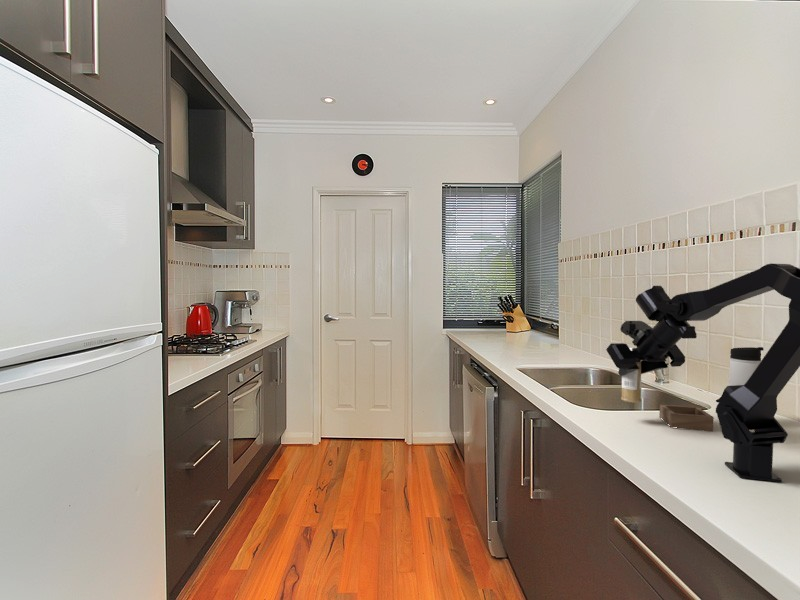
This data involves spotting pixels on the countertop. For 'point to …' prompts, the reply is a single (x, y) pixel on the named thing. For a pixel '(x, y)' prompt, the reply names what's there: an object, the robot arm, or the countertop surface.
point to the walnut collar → (686, 417)
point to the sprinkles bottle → (632, 386)
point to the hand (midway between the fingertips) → (627, 374)
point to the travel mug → (743, 364)
